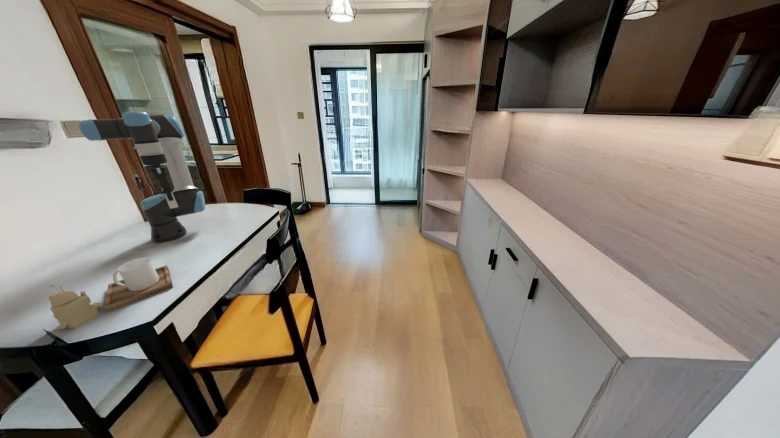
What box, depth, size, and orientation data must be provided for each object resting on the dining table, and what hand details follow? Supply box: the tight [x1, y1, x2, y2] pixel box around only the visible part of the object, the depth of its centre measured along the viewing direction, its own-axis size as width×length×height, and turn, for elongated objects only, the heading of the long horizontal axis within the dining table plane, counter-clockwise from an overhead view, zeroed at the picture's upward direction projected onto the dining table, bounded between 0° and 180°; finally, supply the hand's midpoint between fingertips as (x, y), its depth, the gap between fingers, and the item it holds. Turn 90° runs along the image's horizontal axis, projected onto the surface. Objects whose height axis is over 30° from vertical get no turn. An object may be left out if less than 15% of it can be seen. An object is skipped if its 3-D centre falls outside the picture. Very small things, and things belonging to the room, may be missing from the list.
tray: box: [104, 265, 174, 313], centre depth 98 cm, size 18×18×2 cm
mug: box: [112, 257, 159, 291], centre depth 96 cm, size 12×9×9 cm
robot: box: [47, 284, 103, 332], centre depth 81 cm, size 10×8×15 cm
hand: (172, 204), depth 108 cm, fingers open, 13 cm apart
